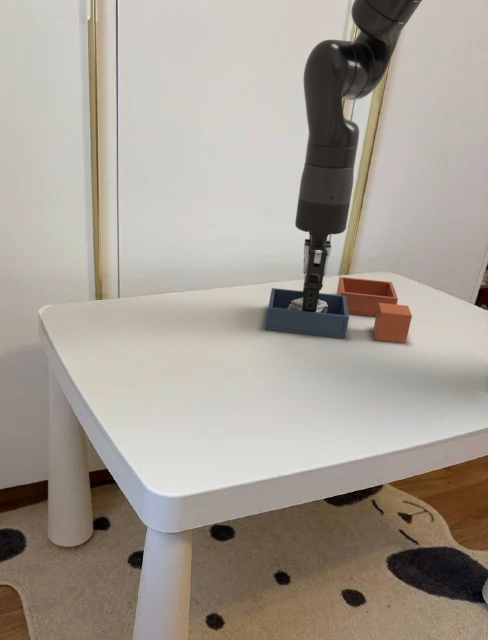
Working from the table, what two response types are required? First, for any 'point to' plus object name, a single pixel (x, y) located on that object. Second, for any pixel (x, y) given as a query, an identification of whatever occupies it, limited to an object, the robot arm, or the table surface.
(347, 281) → the terracotta bin
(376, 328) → the terracotta block
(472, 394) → the table surface
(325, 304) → the toy car
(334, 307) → the blue bin
